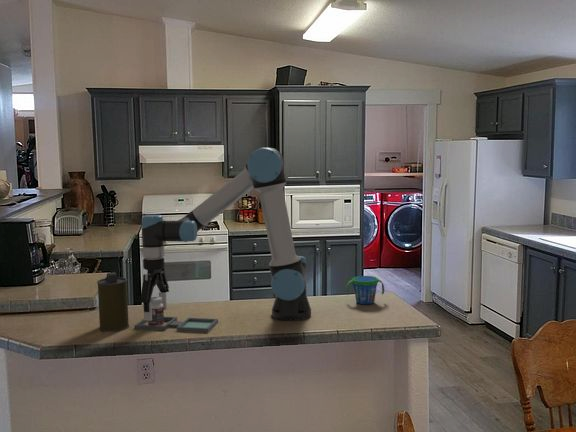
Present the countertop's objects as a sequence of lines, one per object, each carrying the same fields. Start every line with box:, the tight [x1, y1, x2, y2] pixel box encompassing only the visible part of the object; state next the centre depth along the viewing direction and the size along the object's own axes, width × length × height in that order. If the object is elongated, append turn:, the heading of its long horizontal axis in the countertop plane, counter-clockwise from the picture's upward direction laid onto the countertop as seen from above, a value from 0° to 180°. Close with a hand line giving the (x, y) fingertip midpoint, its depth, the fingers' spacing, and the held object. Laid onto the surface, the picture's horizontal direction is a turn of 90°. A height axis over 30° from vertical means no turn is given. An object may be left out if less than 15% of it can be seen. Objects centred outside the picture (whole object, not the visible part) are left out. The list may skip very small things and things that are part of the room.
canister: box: [96, 272, 130, 333], centre depth 208 cm, size 11×10×20 cm
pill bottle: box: [147, 296, 165, 326], centre depth 211 cm, size 6×6×10 cm
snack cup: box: [345, 275, 385, 305], centre depth 237 cm, size 16×10×10 cm
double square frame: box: [133, 316, 219, 333], centre depth 210 cm, size 28×12×1 cm, turn 80°
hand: (155, 314), depth 211 cm, fingers open, 13 cm apart
